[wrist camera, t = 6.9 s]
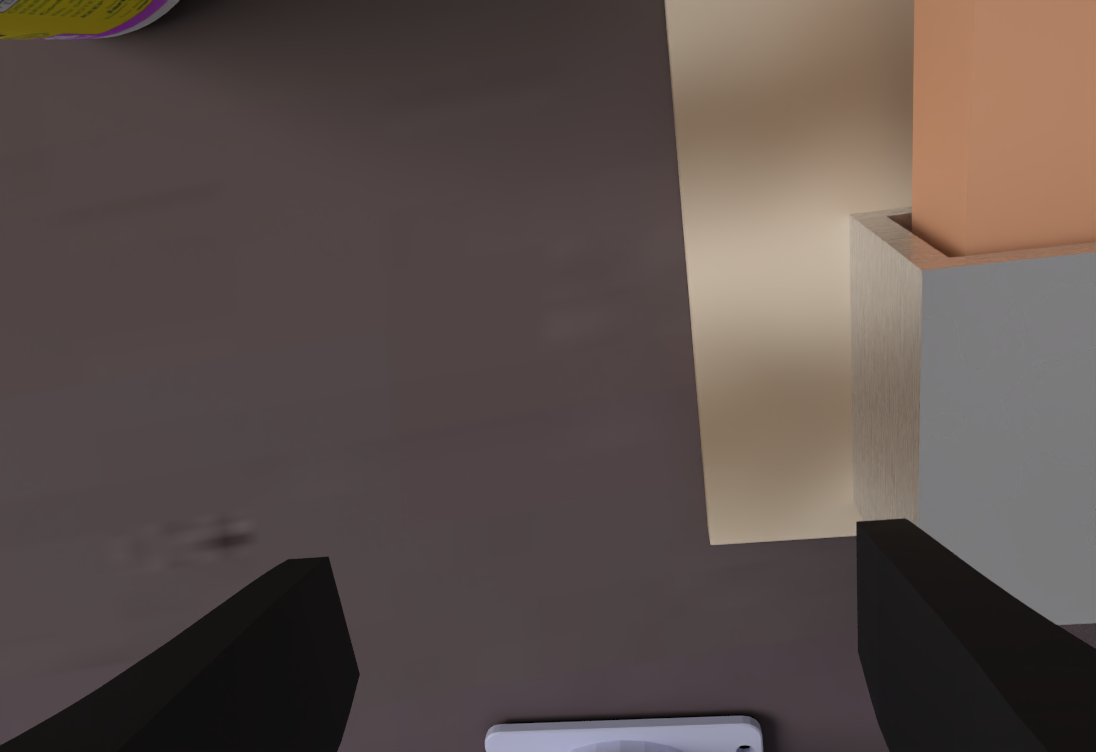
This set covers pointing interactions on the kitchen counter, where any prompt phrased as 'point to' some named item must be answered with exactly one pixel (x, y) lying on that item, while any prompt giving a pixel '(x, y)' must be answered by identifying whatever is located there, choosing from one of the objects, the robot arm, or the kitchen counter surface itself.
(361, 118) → the kitchen counter surface
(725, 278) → the base board
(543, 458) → the kitchen counter surface
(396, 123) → the kitchen counter surface
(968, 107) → the bar
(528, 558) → the kitchen counter surface
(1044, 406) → the sleeve
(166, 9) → the supplement bottle
